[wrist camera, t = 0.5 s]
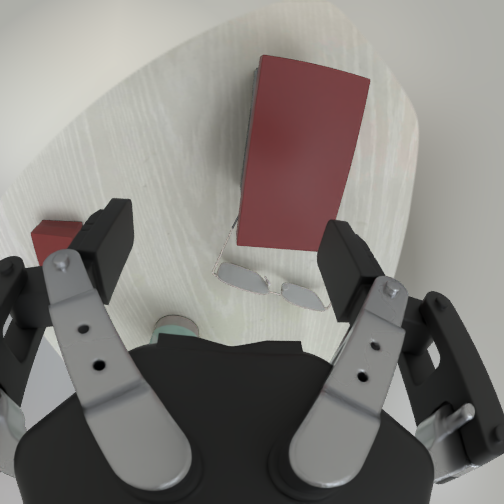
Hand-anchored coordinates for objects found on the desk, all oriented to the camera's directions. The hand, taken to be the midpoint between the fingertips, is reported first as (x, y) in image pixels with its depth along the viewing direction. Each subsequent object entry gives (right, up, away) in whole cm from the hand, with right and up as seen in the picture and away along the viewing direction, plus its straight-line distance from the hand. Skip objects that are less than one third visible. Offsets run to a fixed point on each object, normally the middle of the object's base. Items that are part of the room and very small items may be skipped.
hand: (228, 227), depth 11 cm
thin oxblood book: (+4, +5, +6) cm, 9 cm away
